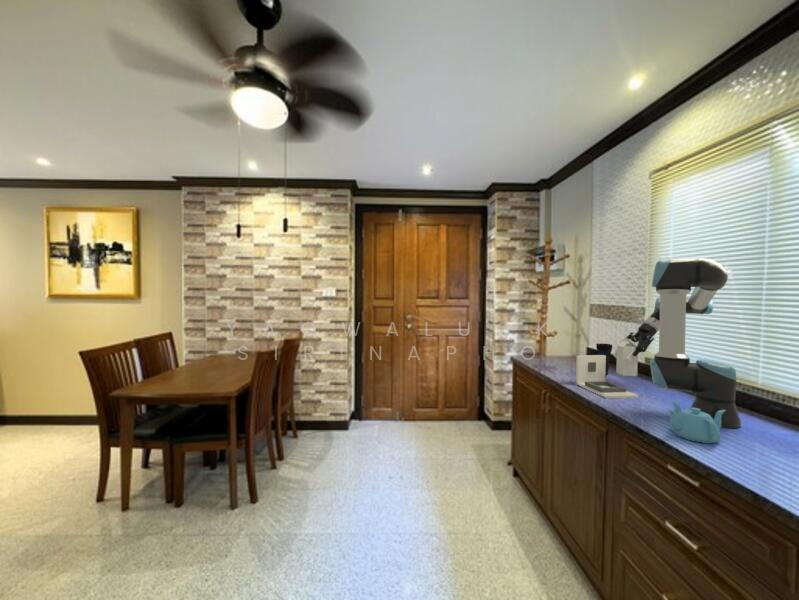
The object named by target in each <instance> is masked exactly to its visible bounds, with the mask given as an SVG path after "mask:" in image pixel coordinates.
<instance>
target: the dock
mask: <svg viewBox="0 0 799 600" xmlns="http://www.w3.org/2000/svg"><path fill="white" fill-rule="evenodd" d="M575 358H576V359H575V360H576V361H575V363H576V365H575V385H576V384H577V385H579V386H581V387H580V388H582V387H583V388H582V389H584V388H585V390H586V389H587V391H588V390H589V391H588V392H591V391H592V392H591V393H593V392H594V394H595V393H596V394H595V395H597V394H598V395H597V396H600V395H601V396H600V397H602V396H603V397H602V398H604V397H605V399H606V398H614V399H638V397H639V395H638V394H635V393H633V392H631V391H627V387H625V386H622V385H619V384H617V383H615V382H611V381H608V380H606V378H605V370H606V356H605V355H599V354H596V355H595V354H591V355H590V354H588V355H587V354H585V355H583V354H582V355H580V354H579V355H577V354H576V356H575ZM577 385H576V386H577ZM579 386H578V387H579Z"/></svg>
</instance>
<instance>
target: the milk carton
mask: <svg viewBox="0 0 799 600" xmlns="http://www.w3.org/2000/svg"><path fill="white" fill-rule="evenodd" d="M622 340H623V341H622ZM622 340H621V341H622V342H621V341H620V342H619V343H618V344H616V350H617V358H616V367H615V368H616V369H615V371H616V372H615V373H617V375H621V376H625V377H626V376H627V377H638V362H639V361H638V358H639V354H638V355H637V356H635V357H634V358H633V359H632V360H631V361H630V362H629V361H628V360H627V359H626V357H627V356H628V355H629V354H630V353H631V352H632V351H633V350H634V349H636V347H637V345H635V343H636V342H635V343H634V342H633V341H631V339H627V338H626V337H624V338H623V339H622ZM636 350H637V349H636Z"/></svg>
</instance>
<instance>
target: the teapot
mask: <svg viewBox="0 0 799 600" xmlns="http://www.w3.org/2000/svg"><path fill="white" fill-rule="evenodd" d="M671 402H672V404H673V406H674V410H673V409H669V408H667V411H668V412H669V414H670V417H669V423H670V426H671V429H672V431H673V432H674V433H675V434H676V435H677V436H678V437H680V436H681V437H680V438H682V437H683V438H682V439H684V438H685V440H687V439H689V440H688V441H690V440H692V441H691V442H694V441H697V442H696V443H699V442H702V443H701V444H714V443H717V441H719V440H721V433H720V429H721V428H722V427H721V416H722V414H723V413H724V412H725V411H726V410H719V411H718V412H717V413H716V415H715V418H714V420H713V418H712V417H711V416H710V415H709V414H707V413H704V412H701V409H699V408H689V409H681V407H680V404H679V403H678V402H677V401H674V400H671ZM690 409H691V410H690Z"/></svg>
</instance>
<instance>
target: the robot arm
mask: <svg viewBox="0 0 799 600" xmlns="http://www.w3.org/2000/svg"><path fill="white" fill-rule="evenodd" d="M728 277H729V275H728V271H727V270H726V269H725V268H724V267H723V265H721V264H720V263H719V262H717V261H715V260H712V259H710V258H703V257H702V258H701V257H699V258H668V259H661V260H657V261H656V263H655V265H654V269H653V274H652V282H651V287H653V288H655V292H656V293H657V294H658V295H659V296H658V297H657V298H656V300H655V301H654V310H653V312H652V313H651V314H650V316H649V317H648V318H647V319H645V320H644V321H643V323H642V324H641V325H639V327H638V329H637V330H638V331H637V332H635V333H634V332H633V331H632V332H630V333H629V334H628V335H627V336H626V337H625V338H627V339H631V341H633V342H634V343H637V345H636V346H637V347H636V349H637V350H636V349H634V350H633V351H632V352H631V353H630V354H629V355H628V356H627V357H626V359H627V360H628V361H629V362H630V361H631V360H632V359H633V358H634V357H635V356H637V355H638V356H639V354H641V353H646V351H647V349H648V348H649V347H650V345H651V343H652V342H653V341H654V340H655V337H654V336H655V335H656V334H657V332H658V333H659V334H658V335H659V337H658V352H656V353H655V354H653V355H654V356H653V357H654V358H651V359H649V367H650V372H651V373H650V374H651V378H652V379H651V380H652V383H653V384H654V385H653V386H655V387H657V388H661V389H666V390H676V391H683V392H690V393H695V398H694V400H693V403H692V405H691V408H699V409H701V412H704V413H707V414H709V415H710V416H711V417H712V418H713V420H714V418H715V415H716V413H717V412H718V411H719V410H726V411H725V412H724V413H723V414H722V416H721V428H725V429H739V428H740V427H741V425H742V424H741V423H742V420H741V418H740V416H739V412H738V410H737V407H736V391H737V390H736V387H737V371H736V368H734V367H733V366H732V365H729V364H725V363H723V362H717V361H713V360H707V359H700V358H699V359H697V360H696V361H695V362H690V360H691V359H690V357H689V356H688V355H687V354H686V319H687V317H686V315H687V314H689V315H690V314H692V315H711V314H712V313H713V310H714V301H713V299H714V297H715V295H716V294H717V292H718V291H720V290H722V289H723V288H724V286H725V285H726V283H727V282H728ZM692 288H693V290H692ZM691 292H692V293H691ZM690 293H691V294H690ZM688 294H690V297H689V298H688V297H687V295H688ZM623 340H624V339H622V340H621V341H620V342H622V341H623ZM612 355H613V357H614V358H615V359H617V349H616V350H615V352H613V354H612ZM691 408H689V410H691Z"/></svg>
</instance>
